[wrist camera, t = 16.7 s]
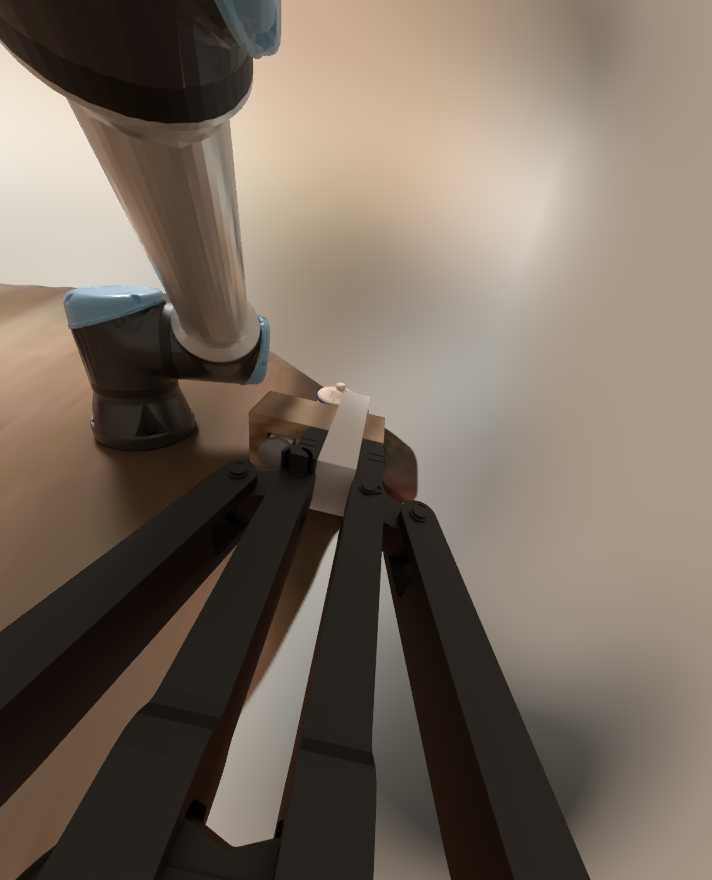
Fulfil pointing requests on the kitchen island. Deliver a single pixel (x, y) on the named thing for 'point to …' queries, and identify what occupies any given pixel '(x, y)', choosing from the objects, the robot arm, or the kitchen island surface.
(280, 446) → the graphite plug
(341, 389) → the teacup with lid
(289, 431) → the walnut plug block
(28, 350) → the kitchen island surface
